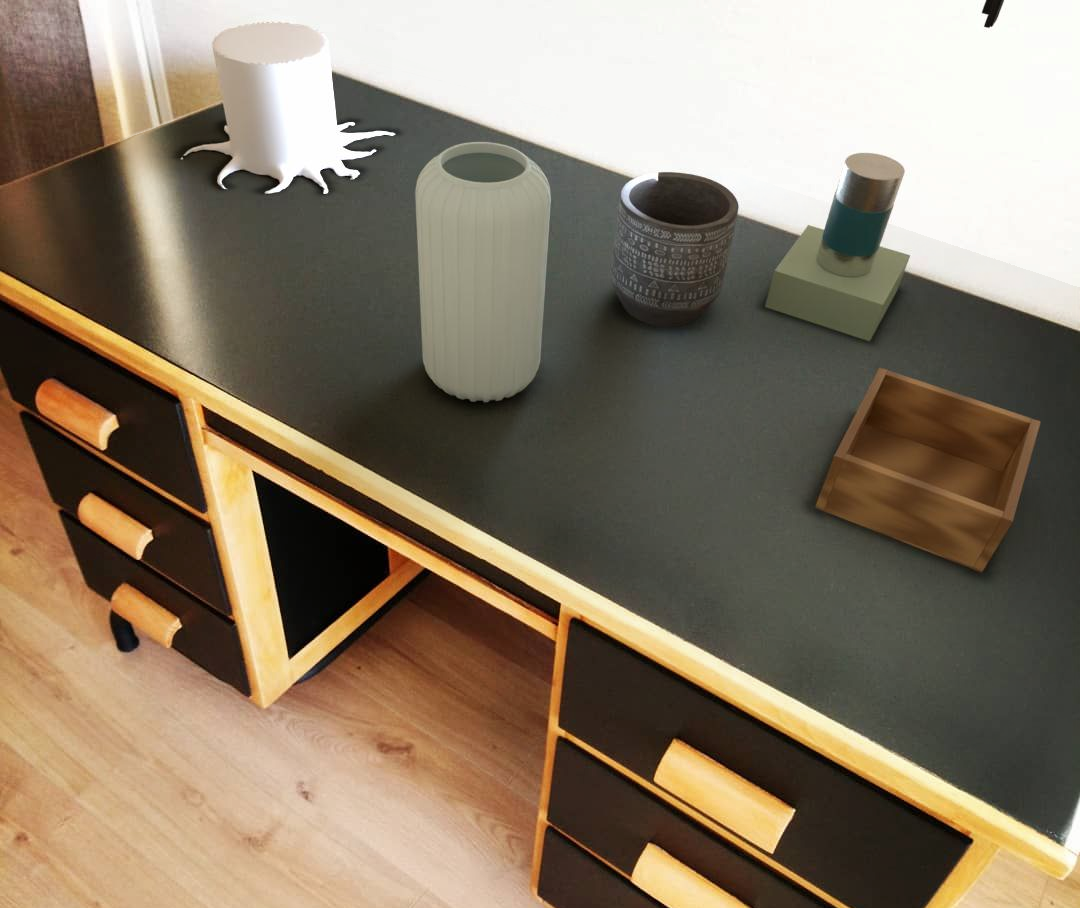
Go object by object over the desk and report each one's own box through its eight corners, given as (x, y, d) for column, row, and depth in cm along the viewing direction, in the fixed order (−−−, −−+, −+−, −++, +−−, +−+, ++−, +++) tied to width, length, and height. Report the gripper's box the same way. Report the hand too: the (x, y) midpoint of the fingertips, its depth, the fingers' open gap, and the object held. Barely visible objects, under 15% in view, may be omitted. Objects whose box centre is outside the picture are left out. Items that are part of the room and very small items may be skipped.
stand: (895, 294, 109) (910, 255, 105) (868, 344, 101) (883, 304, 98) (797, 263, 112) (808, 224, 109) (763, 310, 105) (774, 270, 101)
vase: (508, 335, 99) (516, 124, 83) (558, 398, 92) (577, 181, 76) (406, 360, 95) (393, 143, 79) (450, 427, 88) (446, 205, 72)
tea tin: (877, 258, 104) (911, 162, 96) (863, 283, 101) (897, 185, 93) (825, 242, 106) (854, 146, 98) (808, 266, 102) (837, 168, 94)
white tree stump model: (304, 215, 114) (288, 98, 104) (145, 165, 121) (115, 50, 110) (411, 139, 130) (406, 31, 120) (265, 98, 136) (249, -7, 126)
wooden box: (1009, 475, 88) (1040, 421, 83) (979, 575, 79) (1013, 521, 74) (858, 421, 92) (879, 367, 87) (813, 510, 83) (834, 455, 78)
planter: (718, 286, 108) (742, 179, 99) (712, 346, 100) (736, 236, 90) (614, 271, 109) (627, 164, 100) (599, 329, 101) (612, 218, 91)
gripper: (1253, -182, 76) (1142, 44, 88) (1032, -214, 81) (957, 5, 93) (1252, -168, 71) (1135, 69, 83) (1018, -202, 76) (941, 26, 89)
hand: (1041, 35), depth 88 cm, fingers open, 9 cm apart
